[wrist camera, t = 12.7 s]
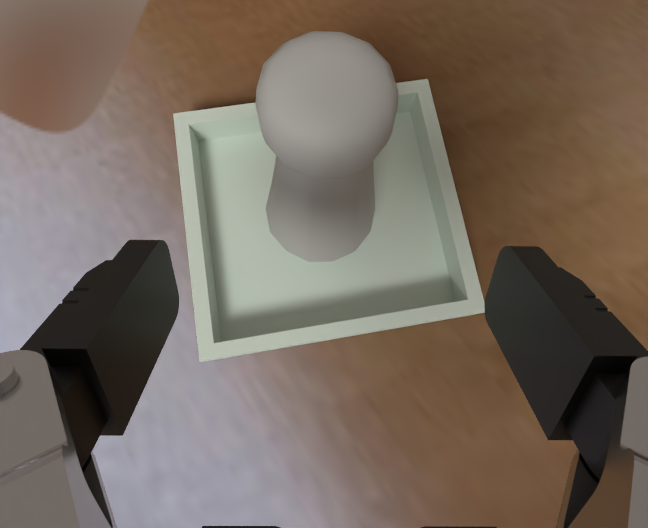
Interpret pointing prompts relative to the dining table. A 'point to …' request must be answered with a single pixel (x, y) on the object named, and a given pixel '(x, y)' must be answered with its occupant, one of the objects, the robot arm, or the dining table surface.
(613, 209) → the dining table surface
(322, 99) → the salt shaker
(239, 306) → the tray
